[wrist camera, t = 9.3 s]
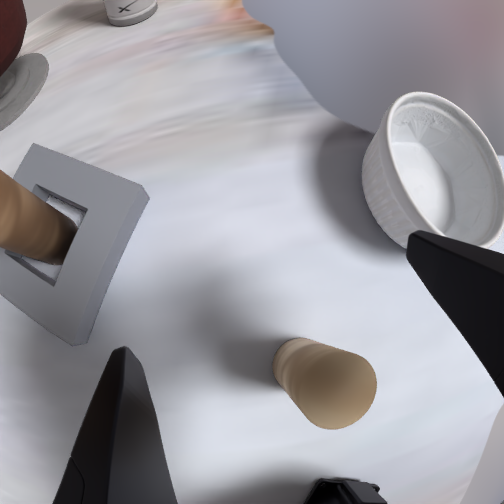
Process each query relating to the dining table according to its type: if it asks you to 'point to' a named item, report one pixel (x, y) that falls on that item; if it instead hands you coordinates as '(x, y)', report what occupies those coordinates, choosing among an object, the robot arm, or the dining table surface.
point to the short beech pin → (325, 382)
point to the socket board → (73, 243)
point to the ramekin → (433, 173)
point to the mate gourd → (17, 64)
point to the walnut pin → (32, 224)
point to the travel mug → (129, 11)
